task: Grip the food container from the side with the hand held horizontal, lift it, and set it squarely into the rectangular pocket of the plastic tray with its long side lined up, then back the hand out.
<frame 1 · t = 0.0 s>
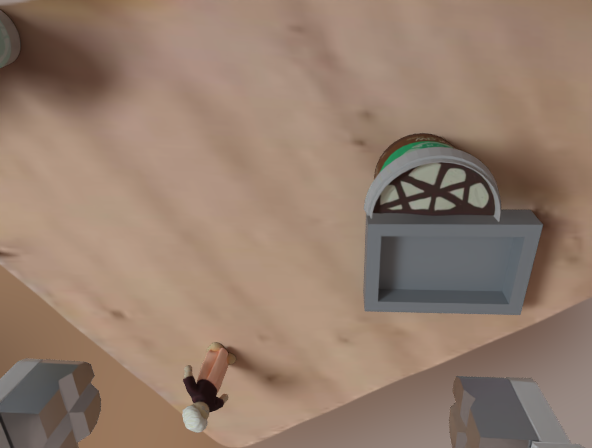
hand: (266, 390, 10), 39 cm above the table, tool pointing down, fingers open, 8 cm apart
grandmother figurine: (219, 350, 63), on the table
tray: (440, 254, 52), on the table
food container: (420, 150, 47), on the table
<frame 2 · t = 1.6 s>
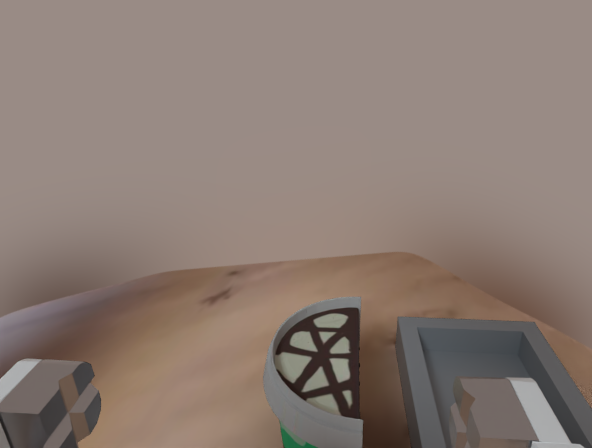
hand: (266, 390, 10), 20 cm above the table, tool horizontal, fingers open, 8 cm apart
tray: (488, 428, 33), on the table
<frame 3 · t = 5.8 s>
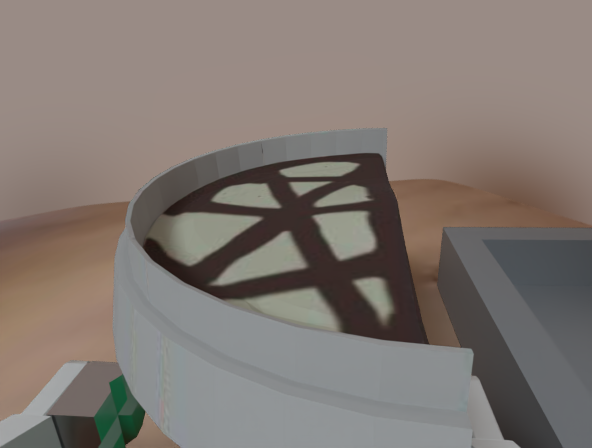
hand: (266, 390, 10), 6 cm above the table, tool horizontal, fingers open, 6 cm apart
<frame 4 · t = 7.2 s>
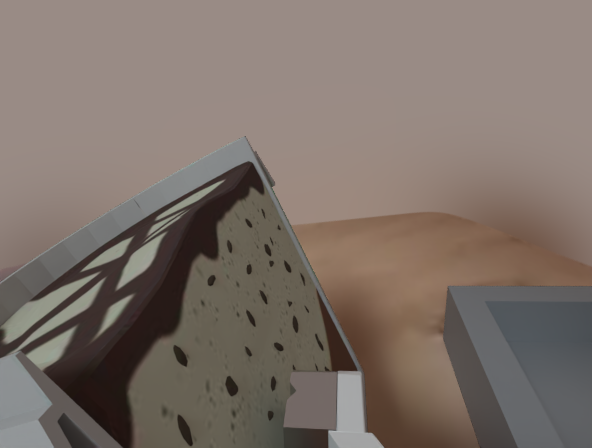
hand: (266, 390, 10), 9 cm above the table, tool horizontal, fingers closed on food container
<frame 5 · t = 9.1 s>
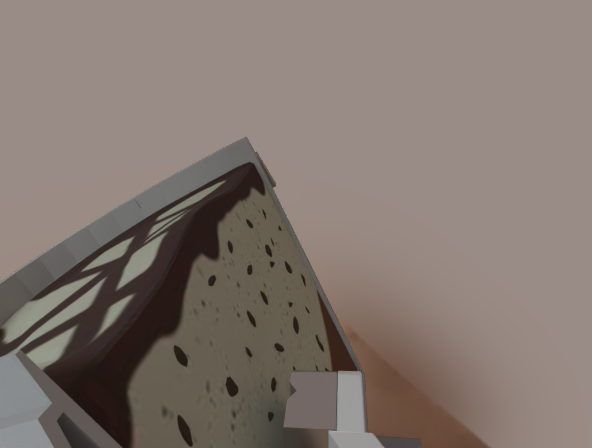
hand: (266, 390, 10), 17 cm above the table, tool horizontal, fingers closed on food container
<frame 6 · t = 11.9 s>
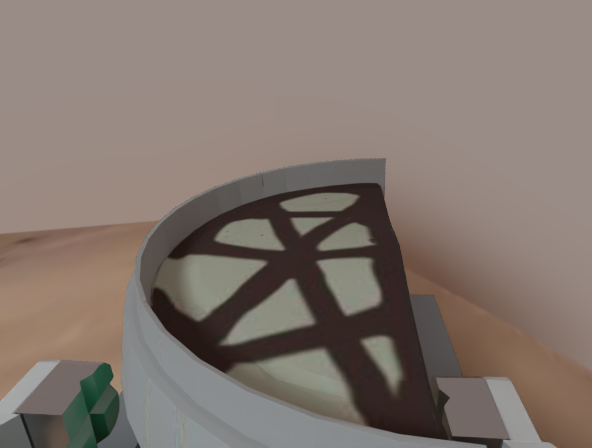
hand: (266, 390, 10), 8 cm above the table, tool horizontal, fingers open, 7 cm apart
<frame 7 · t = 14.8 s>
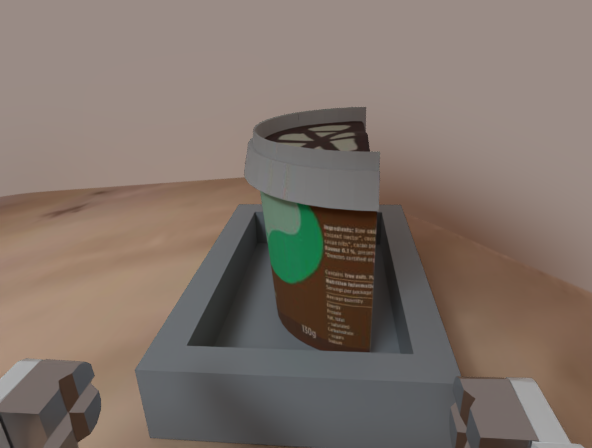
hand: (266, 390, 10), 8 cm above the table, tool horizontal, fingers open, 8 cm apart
tray: (311, 314, 25), on the table
food container: (310, 305, 25), point 1 cm above the table, touching tray
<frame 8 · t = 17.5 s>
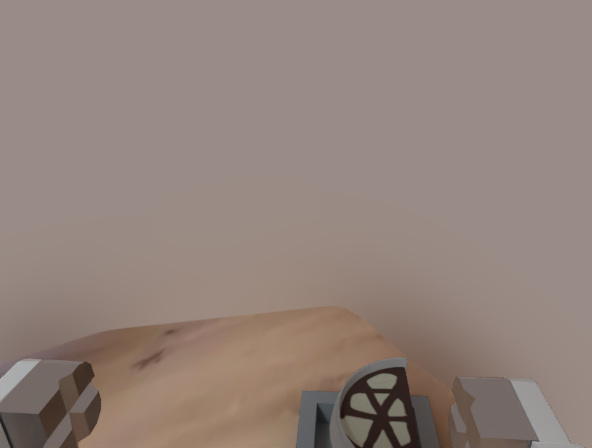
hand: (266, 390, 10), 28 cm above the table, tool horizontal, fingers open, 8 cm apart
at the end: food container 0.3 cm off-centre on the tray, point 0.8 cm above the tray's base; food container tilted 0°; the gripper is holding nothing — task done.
